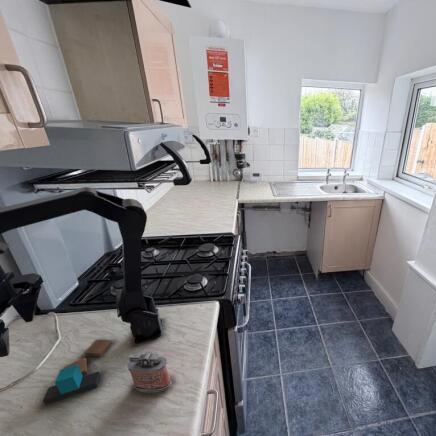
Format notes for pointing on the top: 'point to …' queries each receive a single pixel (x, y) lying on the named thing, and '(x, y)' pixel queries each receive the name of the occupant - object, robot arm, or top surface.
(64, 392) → the wiper
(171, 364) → the top surface
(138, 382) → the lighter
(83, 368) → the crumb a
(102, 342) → the brown flat square block
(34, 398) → the top surface
